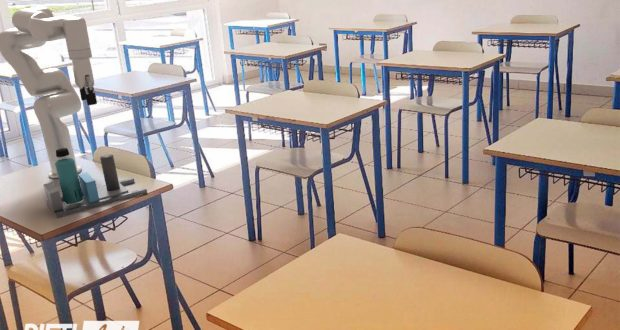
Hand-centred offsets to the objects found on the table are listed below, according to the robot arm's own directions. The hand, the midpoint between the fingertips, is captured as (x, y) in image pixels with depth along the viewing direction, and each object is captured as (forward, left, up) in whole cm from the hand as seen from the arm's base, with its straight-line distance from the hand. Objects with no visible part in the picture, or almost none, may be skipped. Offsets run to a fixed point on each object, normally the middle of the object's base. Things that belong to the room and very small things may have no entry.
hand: (89, 102), depth 225 cm
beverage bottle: (+14, -14, -31) cm, 37 cm away
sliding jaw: (+14, -4, -31) cm, 34 cm away
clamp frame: (+14, -7, -31) cm, 35 cm away
